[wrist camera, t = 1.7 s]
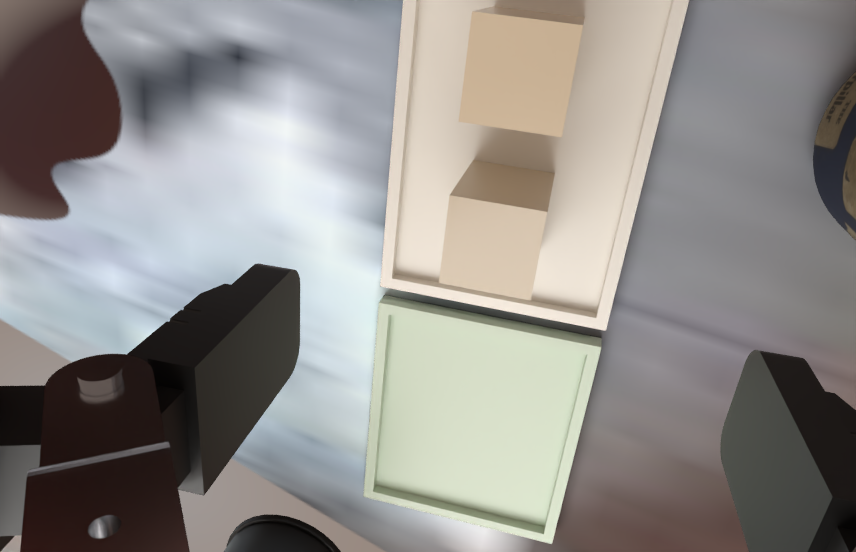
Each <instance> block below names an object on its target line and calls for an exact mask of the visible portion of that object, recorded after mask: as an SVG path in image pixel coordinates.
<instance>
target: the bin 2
mask: <svg viewBox="0 0 856 552" xmlns="http://www.w3.org/2000/svg"><path fill="white" fill-rule="evenodd" d="M600 351H601V338H598V337H593V336H588V335H583V334H578V333H573V332H568V331H563V330H558V329H553V328H548V327H543V326H538V325H533V324H528V323H523V322H518V321H512V320H507V319H502V318H497V317H492V316H487V315H482V314H477V313H472V312H467V311H462V310H457V309H452V308H447V307H442V306H437V305H432V304H427V303H422V302H417V301H412V300H407V299H402V298H397V297H392V296H387V295H384V296H383V297H382V299H381V300H380V302H379V308H378V321H377V333H376V346H375V358H374V371H373V383H372V396H371V408H370V420H369V433H368V445H367V458H366V470H365V483H364V495H363V497H367V498H371V499H375V500H379V501H383V502H387V503H391V504H395V505H399V506H403V507H407V508H411V509H415V510H419V511H422V512H426V513H430V514H434V515H438V516H442V517H446V518H450V519H454V520H458V521H462V522H466V523H470V524H474V525H478V526H482V527H486V528H490V529H494V530H498V531H502V532H506V533H510V534H514V535H518V536H522V537H526V538H530V539H534V540H538V541H542V542H546V543H550V544H552V542H553V538H554V534H555V530H556V526H557V522H558V518H559V514H560V510H561V506H562V502H563V498H564V494H565V490H566V486H567V482H568V478H569V474H570V470H571V466H572V462H573V458H574V454H575V450H576V446H577V443H578V439H579V435H580V431H581V427H582V423H583V419H584V415H585V411H586V407H587V403H588V399H589V395H590V391H591V387H592V383H593V379H594V375H595V371H596V367H597V363H598V359H599V355H600Z"/></svg>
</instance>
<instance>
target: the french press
mask: <svg viewBox="0 0 856 552" xmlns="http://www.w3.org/2000/svg"><path fill="white" fill-rule="evenodd" d="M224 552H341V551H340V550H339V549H338V548H337V546H336V545H335V544H334V543H333V542H332V541H331V540H330V539H329V538H328V537H326V536H325V535H324V534H323V533H322V532H320V531H319V530H317V529H316V528H314V527H312V526H311V525H309V524H306V523H304V522H302V521H300V520H297V519H294V518H290V517H287V516H281V515H260V516H256V517H252V518H250V519H248V520H246V521H244V522H242V523H241V524H240V525H239V526H238V527H236V529H235V530H234V531H233V533H232V534H231V536H230V538H229V541H228V544H227V548H226V549H225V551H224Z"/></svg>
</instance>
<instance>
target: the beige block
mask: <svg viewBox="0 0 856 552" xmlns="http://www.w3.org/2000/svg"><path fill="white" fill-rule="evenodd" d="M554 176H555V173H551V172H545V171H539V170H533V169H527V168H520V167H514V166H508V165H502V164H496V163H489V162H483V161H477V160H473V161H472V162H471V164H470V165H469V167H468V168H467V170H466V171H465V173H464V174H463V176H462V177H461V179H460V180H459V182H458V183H457V185H456V186H455V188H454V189H453V191H452V192H451V194H450V195H449V203H448V212H447V220H446V228H445V236H444V244H443V252H442V261H441V269H440V277H439V283H442V284H447V285H452V286H457V287H462V288H467V289H473V290H478V291H483V292H488V293H493V294H498V295H504V296H509V297H514V298H519V299H524V300H530V301H531V296H532V290H533V285H534V280H535V275H536V270H537V265H538V259H539V254H540V249H541V244H542V239H543V233H544V228H545V223H546V218H547V213H548V207H549V202H550V197H551V192H552V186H553V181H554Z"/></svg>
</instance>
